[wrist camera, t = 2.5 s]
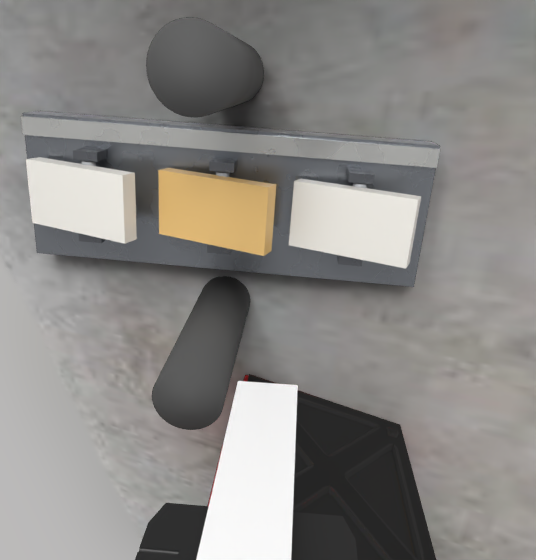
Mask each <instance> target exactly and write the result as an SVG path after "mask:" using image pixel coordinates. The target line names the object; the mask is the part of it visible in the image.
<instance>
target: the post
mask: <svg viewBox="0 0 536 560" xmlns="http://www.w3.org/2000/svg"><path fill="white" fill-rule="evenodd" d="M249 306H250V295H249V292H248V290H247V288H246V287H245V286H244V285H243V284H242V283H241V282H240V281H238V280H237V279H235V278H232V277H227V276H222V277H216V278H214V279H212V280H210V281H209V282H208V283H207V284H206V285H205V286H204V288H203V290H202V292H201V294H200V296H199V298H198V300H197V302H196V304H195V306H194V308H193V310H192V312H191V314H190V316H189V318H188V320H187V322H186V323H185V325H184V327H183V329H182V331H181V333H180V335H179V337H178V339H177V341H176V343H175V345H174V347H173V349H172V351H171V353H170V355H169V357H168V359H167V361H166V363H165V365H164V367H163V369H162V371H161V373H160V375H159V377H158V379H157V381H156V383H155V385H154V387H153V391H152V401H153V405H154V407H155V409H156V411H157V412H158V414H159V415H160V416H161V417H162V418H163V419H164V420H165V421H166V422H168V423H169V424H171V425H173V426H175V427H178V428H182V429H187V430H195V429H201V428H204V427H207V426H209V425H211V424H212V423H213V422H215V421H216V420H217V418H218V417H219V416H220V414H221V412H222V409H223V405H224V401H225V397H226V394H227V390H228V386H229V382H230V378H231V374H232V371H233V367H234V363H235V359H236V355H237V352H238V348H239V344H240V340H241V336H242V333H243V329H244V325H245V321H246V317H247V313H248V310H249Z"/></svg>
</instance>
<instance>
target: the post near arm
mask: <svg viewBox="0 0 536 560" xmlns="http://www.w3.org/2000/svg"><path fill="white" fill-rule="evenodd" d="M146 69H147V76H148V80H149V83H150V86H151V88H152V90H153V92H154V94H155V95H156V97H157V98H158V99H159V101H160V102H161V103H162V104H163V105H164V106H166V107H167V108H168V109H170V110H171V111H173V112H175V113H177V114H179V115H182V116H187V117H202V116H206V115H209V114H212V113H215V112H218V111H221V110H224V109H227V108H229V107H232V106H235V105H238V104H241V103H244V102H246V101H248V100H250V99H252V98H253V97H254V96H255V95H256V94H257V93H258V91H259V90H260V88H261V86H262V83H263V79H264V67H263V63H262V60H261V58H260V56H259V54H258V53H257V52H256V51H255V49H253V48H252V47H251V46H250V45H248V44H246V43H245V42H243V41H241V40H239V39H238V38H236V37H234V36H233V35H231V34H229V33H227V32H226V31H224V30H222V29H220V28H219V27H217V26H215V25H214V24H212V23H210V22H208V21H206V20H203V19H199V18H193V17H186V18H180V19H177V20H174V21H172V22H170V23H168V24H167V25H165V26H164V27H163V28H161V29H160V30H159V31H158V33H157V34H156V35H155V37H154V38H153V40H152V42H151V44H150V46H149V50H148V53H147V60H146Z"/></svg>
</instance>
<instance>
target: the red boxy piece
mask: <svg viewBox="0 0 536 560" xmlns="http://www.w3.org/2000/svg"><path fill="white" fill-rule="evenodd" d="M244 381H246V382H260V383H274V382H271V381H268V380H265V379H262V378H259V377H256V376H253V375H250V374H249V376H248V375H245V378H244ZM275 384H277V383H275ZM223 443H224V442H223ZM222 447H223V445H222ZM221 451H222V449H221ZM220 456H221V453H220ZM219 460H220V457H219ZM218 464H219V461H218ZM217 469H218V465H217ZM217 469H216V473H217ZM216 473H215V477H216ZM215 477H214V481H215ZM214 481H213V486H214ZM213 486H212V490H213ZM212 490H211V494H212ZM211 494H210V498H209V502H208V506H209V503H210V499H211ZM293 512H300V513H312V514H324V515H336V516H343V517H344V519H345V521H346V523H347V525H348V526H349V528H350V530H351V532H352V534H353V535H354V537H355V539H356V549H357V558H358V560H436V557H435V553H434V550H433V546H432V542H431V539H430V535H429V531H428V527H427V524H426V520H425V516H424V512H423V509H422V505H421V501H420V498H419V494H418V490H417V486H416V483H415V479H414V475H413V471H412V468H411V464H410V460H409V456H408V453H407V449H406V445H405V442H404V438H403V434H402V430H401V427H400V425H399V424H396V423H393V422H390V421H387V420H384V419H381V418H378V417H375V416H372V415H369V414H366V413H363V412H360V411H357V410H354V409H351V408H348V407H345V406H342V405H339V404H336V403H333V402H331V401H328V400H325V399H322V398H319V397H316V396H313V395H310V394H307V393H304V392H301V391H298V390H297V416H296V443H295V470H294V497H293Z"/></svg>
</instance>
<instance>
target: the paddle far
mask: <svg viewBox="0 0 536 560" xmlns="http://www.w3.org/2000/svg"><path fill="white" fill-rule="evenodd" d="M26 166H27V175H28V185H29V195H30V204H31V214H32V223H36V224H40V225H45V226H49V227H53V228H58V229H62V230H67V231H71V232H75V233H80V234H84V235H89V236H93V237H98V238H102V239H106V240H111V241H115V242H120V243H124V244H125V243H128V242H131V241H133V240H136V239H137V235H136V197H135V173H134V172H128V171H121V170H115V169H109V168H103V167H97V166H96V161H84V160H82V161H81V164H79V163H73V162H66V161H60V160H54V159H48V158H42V157H37V158H30V159H26Z"/></svg>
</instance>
